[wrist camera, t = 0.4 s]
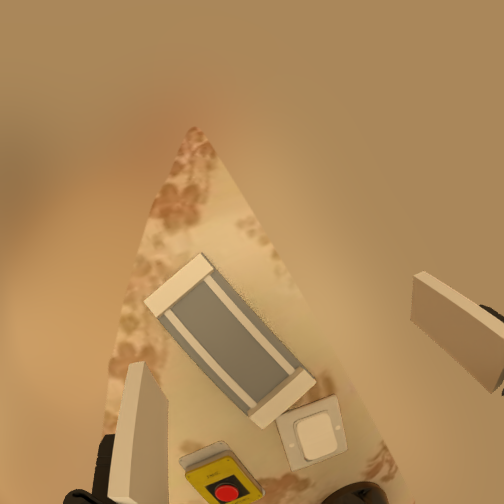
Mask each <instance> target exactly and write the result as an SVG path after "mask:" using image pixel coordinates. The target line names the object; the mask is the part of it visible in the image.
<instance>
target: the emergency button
mask: <svg viewBox="0 0 504 504" xmlns="http://www.w3.org/2000/svg"><path fill="white" fill-rule="evenodd" d="M179 463H180V465H181V466H182V467H183V469H184V470H185V477H186V479H187V480H188V481H189V483H190V484H191V485H192V486H193V487H194V488H195V489H196V490H197V491H198V493H199V494H200V495H201V496H202V497H203V498H204V499H205V500H206V501H207V502H208V503H209V504H250V503H252V502H254V501H257V500H259V499H261V498H262V497H263V496H264V495H265V490H264V489H263V488H262V487H261V486H260V485H259V483H258V482H257V481H256V480H255V479H254V478H253V476H252V475H251V474H250V473H249V472H248V470H247V469H246V468H245V467H244V465H243V464H242V463H241V462H240V460H239V459H238V458H237V457H236V455H235V454H234V453H233V451H232V450H231V449H230V448H229V446H228V445H227V444H226V443H225V442H223V441H218V442H216V443H213V444H211V445H209V446H207V447H205V448H202V449H200V450H198V451H195V452H193V453H191V454H188V455H186V456H183V457H181V458H180V459H179Z"/></svg>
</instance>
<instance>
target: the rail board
mask: <svg viewBox="0 0 504 504" xmlns="http://www.w3.org/2000/svg"><path fill="white" fill-rule="evenodd" d="M144 303H145V304H146V305H147V307H148V308H149V309H150V310H151V312H152V313H153V314H154V315H155V317H157V319H158V320H159V321H160V322H161V324H162V325H163V326H164V327H165V328H166V330H167V331H168V332H169V333H170V334H171V336H172V337H173V338H174V339H175V340H176V341H177V343H178V344H179V345H180V346H181V347H182V348H183V350H184V351H185V352H186V353H187V354H188V355H189V356H190V357H191V359H192V360H193V361H194V362H195V363H196V364H197V365H198V366H199V367H200V368H201V369H202V371H203V372H204V373H205V374H206V375H207V376H208V377H209V378H210V379H211V380H212V381H213V382H214V383H215V384H216V385H217V386H218V387H219V388H220V389H221V390H222V391H223V392H224V393H225V394H226V395H227V396H228V397H229V398H230V399H231V400H232V401H233V402H234V403H235V404H236V405H237V406H238V407H239V408H240V409H241V410H242V411H243V412H244V413H245V414H246V415H247V416H248V417H249V418H250V419H251V420H252V421H253V422H254V423H255V424H256V425H257V426H259V427H260V428H261V429H262V430H263V429H264V428H265V427H267V426H268V425H269V424H270V423H271V422H273V421H274V420H275V419H276V418H277V417H279V416H280V415H281V414H282V413H283V412H285V411H286V410H287V409H288V408H289V407H290V406H291V405H293V404H294V403H295V402H296V401H297V400H298V399H299V398H300V397H302V396H303V395H304V394H305V393H306V392H307V391H308V390H309V389H310V388H311V387H312V386H313V385H315V384H316V383H317V382H316V381H315V380H314V379H315V378H314V377H313V376H312V374H311V373H310V372H309V371H308V370H307V369H306V368H305V367H304V366H303V365H302V364H301V363H300V362H299V361H298V360H297V359H296V358H295V356H294V355H293V354H292V353H291V352H290V351H289V350H288V349H287V348H286V347H285V346H284V345H283V344H282V342H281V341H280V340H279V339H278V338H277V337H276V336H275V335H274V334H273V333H272V332H271V330H270V329H269V328H268V327H267V326H266V325H265V324H264V323H263V322H262V321H261V319H260V318H259V317H258V316H257V315H256V314H255V313H254V312H253V311H252V309H251V308H250V307H249V306H248V305H247V304H246V303H245V302H244V300H243V299H242V298H241V297H240V296H239V295H238V294H237V292H236V291H235V290H234V289H233V288H232V287H231V286H230V284H229V283H228V282H227V281H226V280H225V279H224V278H223V276H222V275H221V274H220V273H219V272H218V271H217V270H216V268H215V267H214V266H213V265H212V264H211V263H210V261H209V260H208V259H207V258H206V257H205V256H204V254H203V253H200V254H198V255H197V256H196V257H195V258H194V259H192V260H191V261H190V262H189V263H188V264H186V265H185V266H184V267H183V268H182V269H181V270H179V271H178V272H177V273H176V274H175V275H173V276H172V277H171V278H170V279H169V280H168V281H166V282H165V283H164V284H163V285H162V286H161V287H159V288H158V289H157V290H156V291H155V292H154V293H152V294H151V295H150V296H149V297H148V298H147V299H146V300H144Z"/></svg>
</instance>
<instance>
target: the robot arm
mask: <svg viewBox="0 0 504 504" xmlns="http://www.w3.org/2000/svg"><path fill="white" fill-rule="evenodd" d="M410 320H411V321H412V322H413V323H414V324H415V325H417V326H418V327H419V328H420V329H421V330H422V331H423V332H425V333H426V334H427V335H428V336H429V337H430V338H431V339H432V340H434V341H435V342H436V343H437V344H438V345H439V346H440V347H442V348H443V349H444V350H445V351H446V352H447V353H448V354H449V355H450V356H451V357H452V358H454V359H455V360H456V361H457V362H458V363H459V364H460V365H461V366H462V367H463V368H465V370H467V371H468V372H469V373H470V374H471V375H472V376H473V377H474V378H475V379H476V380H477V381H478V382H479V383H480V384H481V385H482V386H483V387H484V388H486V390H487V391H488V392H489V393H491V394H492V393H493V392H494V391H495V390H496V389H497V388H498V387H499V386H500V385H501V384H502V382H503V380H504V317H503V316H502V315H500V314H498V312H496V311H494V310H493V309H492V308H490V307H486V306H484V305H479V306H478V305H477V304H475V303H474V302H472V301H471V300H469V299H468V298H466V297H465V296H463V295H461V294H460V293H459V292H457V291H455V290H454V289H452V288H451V287H449V286H447V285H446V284H444V283H443V282H441V281H439V280H438V279H436V278H435V277H433V276H431V275H430V274H428V273H427V272H425V271H423V272H421V273H418V274H416V275H414V276H413V292H412V308H411V319H410ZM503 395H504V389H503V391H502V396H503ZM96 465H97V466H96V467H95V474H94V481H93V488H92V494H90V493H89V492H87V491H85V490H82V489H76V490H73V491H71V492H69V493H68V494H67V495H66V497H65V499H64V501H63V504H169V492H168V399H167V398H166V396H165V395H164V393H163V391H162V390H161V388H160V387H159V385H158V383H157V382H156V380H155V378H154V377H153V375H152V373H151V371H150V370H149V368H148V366H147V365H146V363H145V361H141V362H136V363H131V364H129V368H128V372H127V376H126V381H125V386H124V390H123V395H122V400H121V405H120V411H119V416H118V422H117V428H116V434H109V435H105V436H104V438H103V440H102V441H101V443H100V445H99V450H98V458H97V461H96ZM322 504H389V502H388V499H387V496H386V494H385V492H384V491H383V490H382V489H381V488H380V487H379V486H378V485H377V484H375V483H371V482H360V483H355V484H352V485H349V486H346V487H344V488H342V489H340V490H338V491H336V492H335V493H333V494H332V495H331V496H329V497H328V498H327V499H326V500H325V501H324V502H323V503H322Z"/></svg>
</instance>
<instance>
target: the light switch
mask: <svg viewBox="0 0 504 504" xmlns="http://www.w3.org/2000/svg"><path fill="white" fill-rule="evenodd" d="M275 421H276V425H277V428H278V431H279V434H280V437H281V441H282V444H283V447H284V450H285V453H286V456H287V459H288V462H289V465H290V468H291V471H292V472H293V471H296V470H299V469H302V468H305V467H308V466H311V465H313V464H316V463H319V462H321V461H324V460H326V459H329V458H331V457H334V456H336V455H339V454H341V453H343V452H345V451H347V450H348V446H347V441H346V436H345V431H344V426H343V421H342V416H341V412H340V407H339V402H338V398H337V396H336V395H335V394H333V395H331V396H328V397H326V398H323V399H321V400H318V401H315V402H313V403H310V404H307V405H304V406H302V407H299V408H296V409H293V410H290V411H287V412H284V413H282V414H281V415H280V416H279V417H277V418H276V419H275ZM304 458H305V459H307V460H305V459H304Z"/></svg>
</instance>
